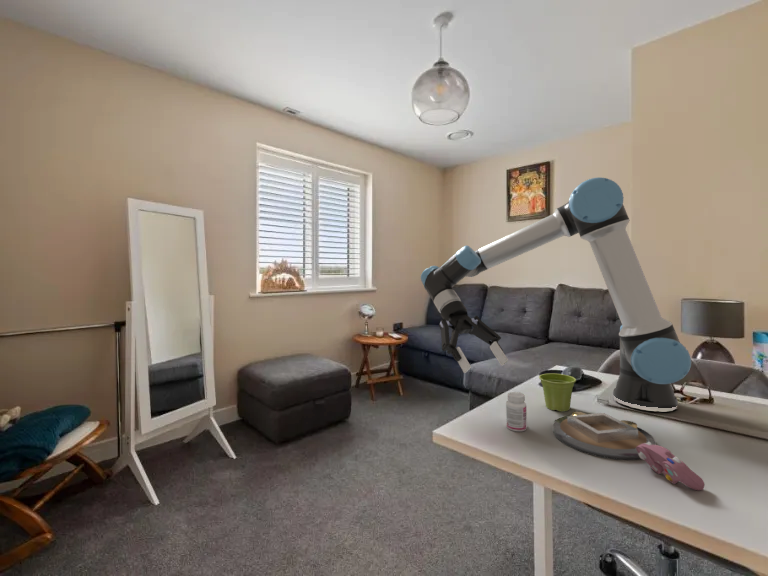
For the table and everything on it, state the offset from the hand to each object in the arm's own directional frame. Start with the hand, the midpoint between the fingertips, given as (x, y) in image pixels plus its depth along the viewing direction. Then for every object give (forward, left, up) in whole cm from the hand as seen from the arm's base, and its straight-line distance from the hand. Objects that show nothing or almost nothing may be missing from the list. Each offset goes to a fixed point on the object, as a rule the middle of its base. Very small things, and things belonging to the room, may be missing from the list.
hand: (487, 366), depth 97 cm
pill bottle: (-4, +9, -14) cm, 17 cm away
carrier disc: (-20, +18, -13) cm, 30 cm away
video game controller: (-19, +34, -14) cm, 42 cm away
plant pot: (-22, -1, -14) cm, 25 cm away
